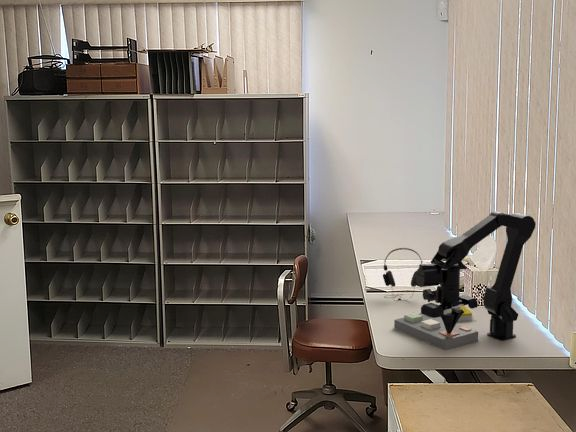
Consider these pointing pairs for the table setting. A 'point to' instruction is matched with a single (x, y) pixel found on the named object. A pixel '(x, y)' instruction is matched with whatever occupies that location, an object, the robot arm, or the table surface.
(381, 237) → the table surface
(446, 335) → the terracotta key
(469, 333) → the keypad
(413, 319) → the sage key
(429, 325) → the offwhite key
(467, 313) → the emergency button
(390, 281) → the headphones
